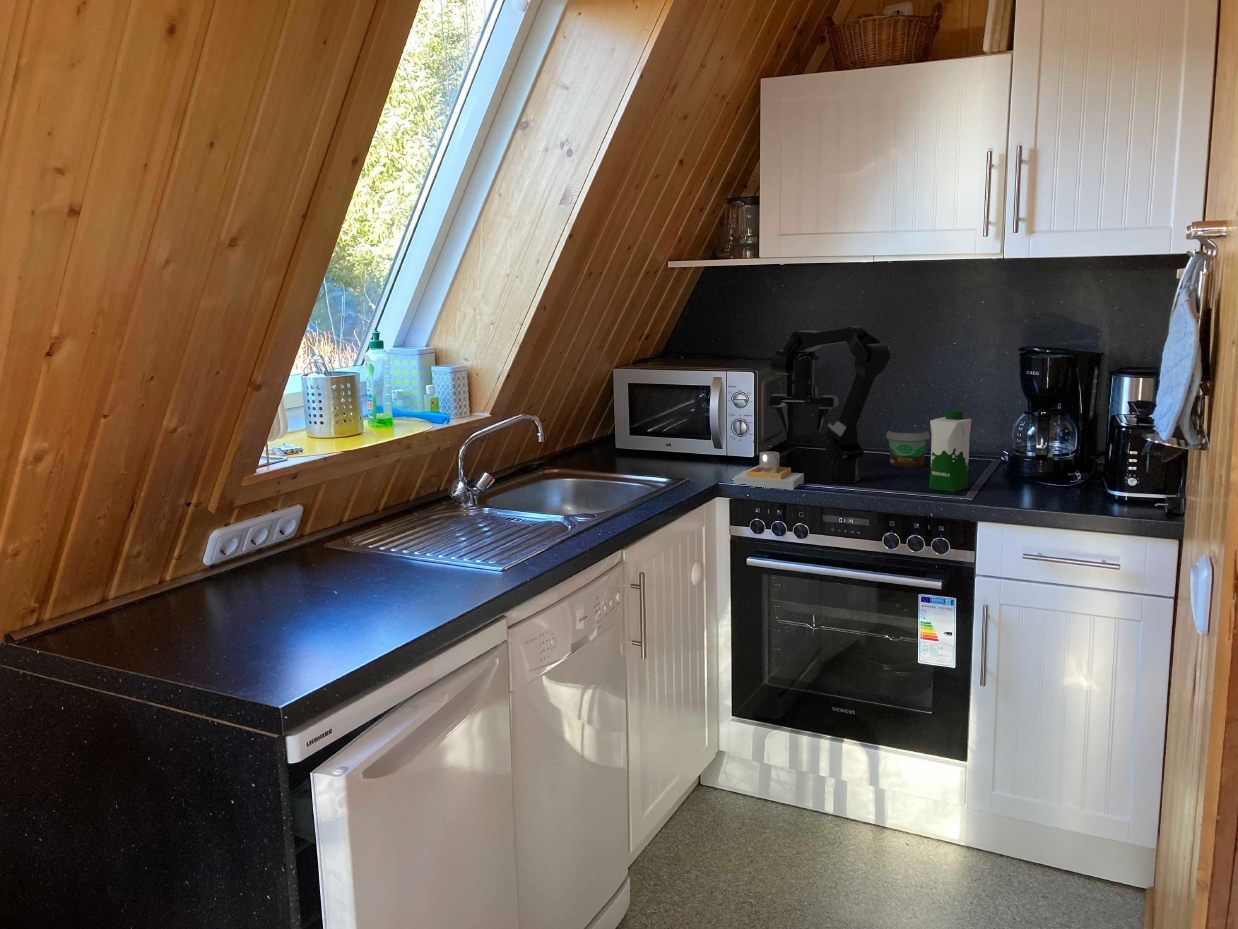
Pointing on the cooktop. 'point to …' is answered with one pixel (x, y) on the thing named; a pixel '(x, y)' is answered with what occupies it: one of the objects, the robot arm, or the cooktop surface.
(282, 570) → the cooktop surface
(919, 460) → the food container
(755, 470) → the grey slab with frame
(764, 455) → the steel can
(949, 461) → the milk carton
